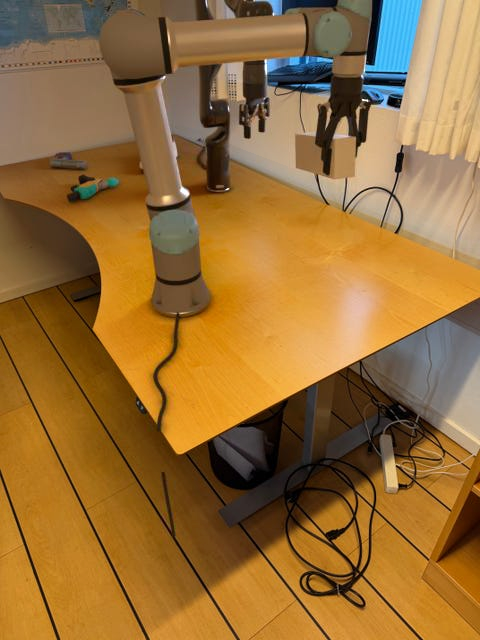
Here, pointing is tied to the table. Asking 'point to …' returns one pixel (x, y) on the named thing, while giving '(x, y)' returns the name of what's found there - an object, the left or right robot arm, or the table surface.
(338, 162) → the box
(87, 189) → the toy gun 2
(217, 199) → the table surface
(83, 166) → the toy gun
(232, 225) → the table surface
